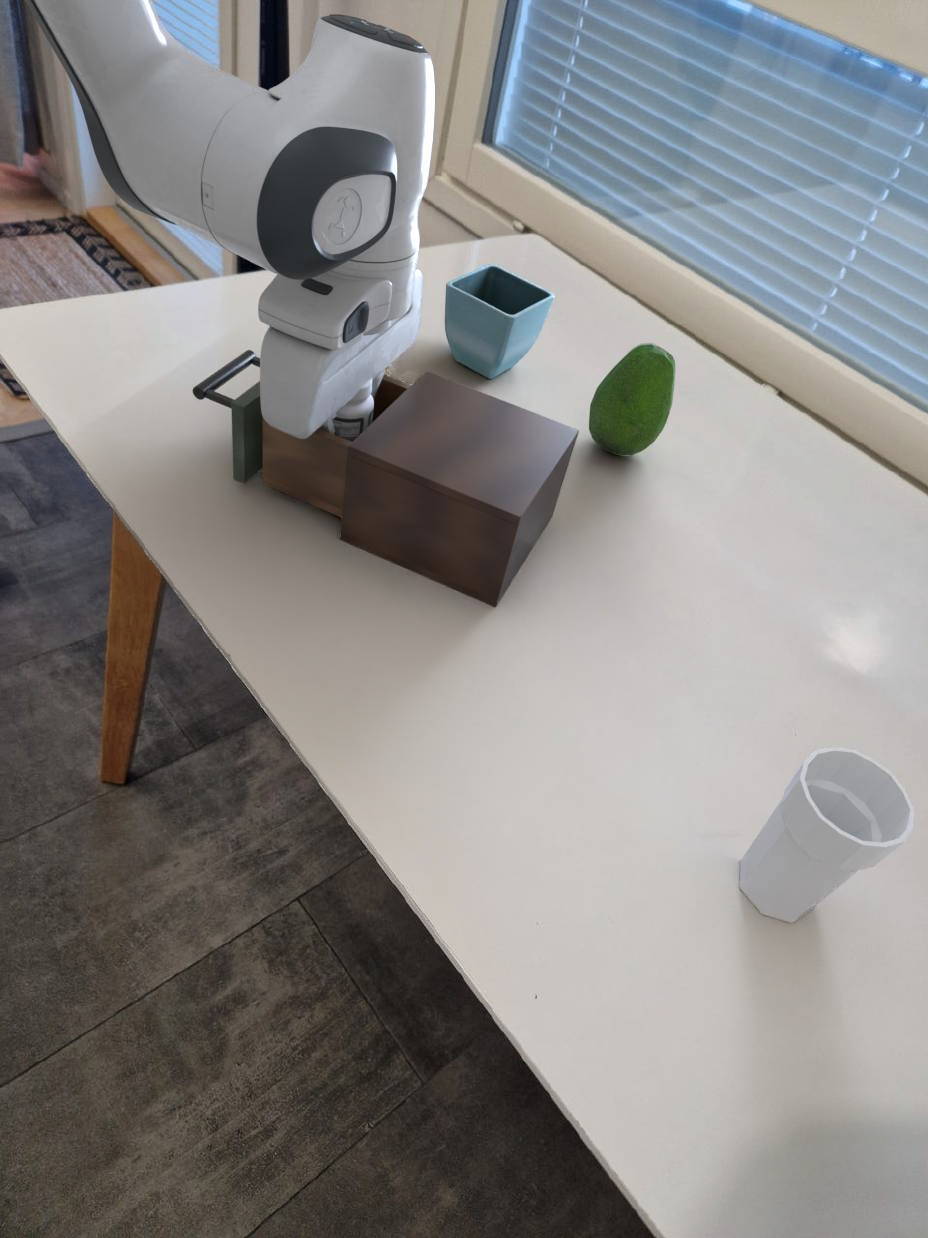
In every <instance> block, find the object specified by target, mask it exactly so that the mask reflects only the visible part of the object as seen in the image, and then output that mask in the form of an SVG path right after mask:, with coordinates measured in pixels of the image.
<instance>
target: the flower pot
mask: <svg viewBox="0 0 928 1238" xmlns="http://www.w3.org/2000/svg"><path fill="white" fill-rule="evenodd" d="M555 297H556V295H555V293H554V292H551V291H549V290H547V289H545V288H543V287H541V286H540V285H537V284H535V283H533V282H531V281H529V280H527V279H525V278H523V277H521V276H520V275H517V274H515V273H512V272H511V271H509V270H507V269H506V268H505V269H504V267H501V266H498V265H496V264H494V263H489V264H486V265H484V266H481V267H479V268H477V269H475V270H473V271H471V272H469V273H466V274H463V275H461V276H459V277H457V278H454V279H452V280H450V281H448V282H446V284H445V298H444V299H445V300H444V331H445V337H446V341H447V344H448V347H449V349H450V351H451V353H452V355H453V358H454V359H455V361H456V362H458V363H459V364H461V365H463V366H465V367H467V368H469V369H470V370H473V371H474V372H476V373H478V374H480V375H482V376H483V377H485V378H487V379H489V380H493V379H495V378H496V377H498V376H500V375H501V374H503V373H505V372H506V371H508V370H510V369H512V368H513V367H515V366H516V365H517V364H518V363H519V362H520V361H521V360H522V359H523V358H524V357H525V356H526V355H527V354H528V352H529V351H530V350H531V349H532V347H533V346H534V345H535V343H536V342H537V340H538V338H539V336H540V334H541V332H542V330H543V327H544V325H545V322H546V320H547V317H548V314H549V312H550V310H551V308H552V305H553V303H554V299H555Z"/></svg>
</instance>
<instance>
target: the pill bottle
mask: <svg viewBox="0 0 928 1238" xmlns="http://www.w3.org/2000/svg"><path fill="white" fill-rule="evenodd" d="M371 392H372V379H371V380H369V381H368V382H367V383H366V384H365V385H364V386H363V387H361V389H360V391H359V393H358V394H356V395H355V396H354V397H353V398H352V399H351V400H350V401H349V402H347V403H346V404H345V405H344V406H343V407H342V408H341V409H340V410H338V411H337V412H336V417H335V418H334V419H332V421H333V425H335V426H337V427H340V433H339V437H341V438H343V439H346V440H348V441H351V442H353V441H354V440H355V439H356V438H357V437H358V436H359V435H360V434H361V433H362V432H363V431H364V430H365V429H366V428H367V427H368V426H369V425H371V424H372V419H373V410H374V400H373V397H372V396H371Z"/></svg>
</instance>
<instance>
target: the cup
mask: <svg viewBox="0 0 928 1238" xmlns="http://www.w3.org/2000/svg"><path fill="white" fill-rule="evenodd" d="M915 816H916V811H915V807H914V805H913V804H912V801H911V799H910V796H909V794H908V792H907V790H906V789H905V788H904V786H903V785H902V783H901V782H900V781H899V779H898V778H897V777H896V775H895V774H894V772H892V771H890V769H888V768H886V767H885V766H884V765H882V764H881V763H880V762H878V761H877V760H875V759H874V758H872V757H870V756H868V755H866V754H864V753H862V752H861V751H858V750H855V749H853V748H848V747H847V748H846V747H837V746H830V747H829V746H828V747H824V748H820V749H815V750H813V751H812V753H811V754H809V755H808V757H806V759H805V760H804V761H803V762H802V763H801V766H800V767H799V769H798V770H797V771H796V772H795V774H794V776H793V777H792V779H791V780H790V781H789V784H788V785H787V786H786V787H785V789H784V791H783V794H782V797H781V800H780V801H779V803H778V804H777V805H776V807H775V809H774V810H773V812H772V813H771V815H770V816H769V818H768V819H767V821H766V822H765V824H764V826H763V827H762V829H761V830H760V831H759V832H758V835H757V836H756V837H755V839H754V840H753V841H752V844H751V845H750V846H749V848H748V849H747V850H746V852H745V854H744V855H743V857H742V858H740V860H739V889H740V890H741V891H742V892H743V894H744V895H745V896H746V897H747V899H749V901H750V902H751V903H752V904H753V906H754V907H755V908H756V909H757V910H758V912H759V913H760V914H761V915H763V916H766V917H769V918H773V919H777V920H780V921H783V922H786V923H790V924H794V923H795V922H797V921H798V920H799V919H801V918H802V917H804V916H806V915H807V914H808V913H810V912H811V911H813V910H814V909H815V908H816V907H817V906H818V905H819V904H820V903H821V902H822V901H824V900H825V899H826V898H828V896H830V895H831V894H832V893H834V892H835V891H836V890H837V889H838V888H839V887H841V886H842V885H843V884H845V882H847V881H848V880H849V879H851V877H853V876H854V875H855V874H856V873H858V872H859V871H862V870H866V869H870V868H873V867H876V865H878V864H880V863H881V862H882V861H883V860H884V859H885V858H887V857H888V856H889V855H890V854H892V853H893V852H894V851H895V850H896V849H897V848H899V847H900V846H901V845H902V844H904V843H905V841H906V840H907V838H908V837H909V835H910V834H911V833H912V831H913V830H914V823H915Z"/></svg>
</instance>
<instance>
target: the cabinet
mask: <svg viewBox="0 0 928 1238" xmlns="http://www.w3.org/2000/svg"><path fill="white" fill-rule="evenodd" d="M410 385H411V386H410V387H409V388H408V389H407V390H406V391H405V392H404V393H403V394H402V395H401V396H400V397H399V398H398V399H396V400H395V401H394V402H393V403H392V404H391V405H390V406H389V407H388V408H387V409H386V410H385V411H384V412H383V413H382V414H381V415H380V416H379V417H378V418H377V419H376V420H375V421H374V422H373V423H372V424H371V425H369V426H368V427H367V428H366V429H365V430H364V431H363V432H362V433H361V434H360V435H359V436H358V437H357V438H356V439H355V440H354V441H353V442H352V443H351V444H350V445H349V446H348V453H347V463H346V475H345V486H344V497H343V509H342V517H341V519H340V520H341V522H340V533H339V540H340V541H343V542H344V543H347V544H349V545H352V546H354V547H357V548H359V549H361V550H363V551H366V552H368V553H370V554H372V555H375V556H377V557H379V558H381V559H383V560H386V561H388V562H391V563H393V564H395V565H398V566H400V567H402V568H404V569H407V570H409V571H411V572H414V573H416V574H418V575H421V576H423V577H424V578H428V579H430V580H432V581H434V582H436V583H439V584H441V585H443V586H446V587H447V588H451V589H453V590H455V591H457V592H460V593H462V594H464V595H466V596H468V597H471V598H473V599H476V600H478V601H480V602H482V603H484V604H487V605H490V606H492V607H494V608H496V607H497V606H498V605H499V603H500V602H501V600H502V598H503V597H504V595H505V594H506V592H507V590H508V588H509V587H510V586H511V584H512V582H513V581H514V579H515V577H516V576H517V574H518V573H519V571H520V569H521V568H522V566H523V564H524V563H525V561H526V560H527V558H528V556H529V555H530V553H531V552H532V550H533V548H534V547H535V545H536V544H537V542H538V541H539V539H540V537H542V534H543V533H544V531H545V529H546V528H547V526H548V525H549V523H550V521H551V520H552V518H553V516H554V513H555V510H556V506H557V503H558V500H559V496H560V494H561V490H562V487H563V484H564V481H565V477H566V474H567V471H568V468H569V465H570V462H571V458H572V455H573V452H574V449H575V445H576V442H577V440H578V439H577V438H578V436H579V433H580V430H579V429H577V428H575V427H572V426H570V425H567V424H564V423H562V422H559V421H557V420H555V419H551V418H549V417H547V416H544V415H542V414H539V413H536V412H534V411H531V410H528V409H526V408H523V407H521V406H518V405H516V404H513V403H510V402H507V401H506V400H502V399H501V398H497V397H495V396H492V395H490V394H487V393H485V392H482V391H480V390H477V389H476V388H475V389H474V388H472V387H470V386H467V385H464V384H462V383H459V382H456V381H454V380H452V379H449V378H446V377H443V376H441V375H439V374H436V373H433V372H432V371H431V372H430V371H429V370H425V371H424V372H423V373H422V374H421V375H420V376H419V377H418V378H417V379H416V380H415V381H414V382H413V383H412V384H410Z"/></svg>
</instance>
